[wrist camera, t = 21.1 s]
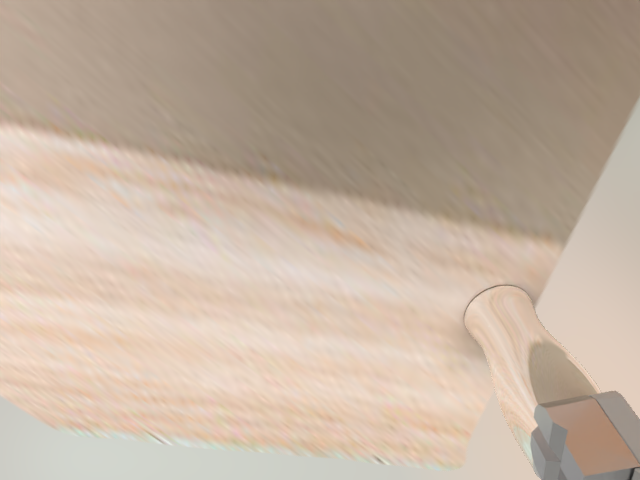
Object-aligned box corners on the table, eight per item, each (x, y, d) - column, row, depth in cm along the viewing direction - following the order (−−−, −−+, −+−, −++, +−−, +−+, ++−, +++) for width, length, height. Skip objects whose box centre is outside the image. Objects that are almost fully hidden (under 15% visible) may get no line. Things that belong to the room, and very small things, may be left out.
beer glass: (535, 272, 50) (635, 408, 38) (535, 331, 54) (627, 472, 42) (455, 291, 50) (529, 434, 38) (461, 349, 54) (531, 496, 42)
